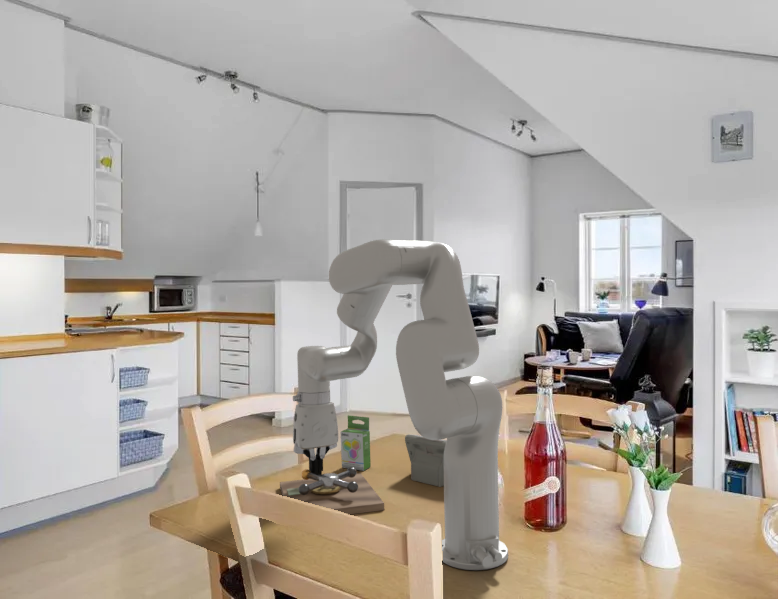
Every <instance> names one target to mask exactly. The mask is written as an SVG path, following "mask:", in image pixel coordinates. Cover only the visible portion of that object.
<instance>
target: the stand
mask: <svg viewBox="0 0 778 599" xmlns="http://www.w3.org/2000/svg"><path fill="white" fill-rule="evenodd" d="M341 481H345V482H349V483H350V482H351V481H354V482H356V483H357V484H358V490H357V491H356V492H354V493H351V492H349V491H348V489H345V488H342V487H341V489H340V490H339V491H338V492H335V493H332V494H315V493H312V492H311V491H309V493H308V494H307V495H301V494H300V493H299V486H300V485H301V484H307V485H308V484H311V483H313V482H316V480H313V479H308V480H304V479H303V478H302V479H296V480H295V479H294V480H286V481H280V482H279V490H280V492H281V496H282V495H283V496H287V497H290V498H294V499H298V500H301V501H304V502H308V503H312V504H315V505H319V506H323V507H326V508H331V509H334V510H338V511H341V512H344V513H348V515H355V514H363V513H364V514H365V513H372V512H378V511H379V512H380V511H385V502H384V501H383V500H382V498H381V497H380V496H379V495H378V493H377V492H376V491H375V489H374V488H373V486H372V485H371V484H370V483H369V482H368V481H367V479H366V478H365V477H364V475H363V474H362V473H356V476H355V477H353V478H350V477H346V478H344V479H341ZM283 496H282V497H283Z"/></svg>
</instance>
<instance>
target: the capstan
mask: <svg viewBox="0 0 778 599" xmlns="http://www.w3.org/2000/svg"><path fill="white" fill-rule="evenodd" d="M356 474H358V473H357V470H356V469H355V468H353V467H350V468H346V470H345V471H342V472H340V473H338V474H337V473H334V472H331V473H330V472H329V473H328V472H327V473H322V475H318V474H315V473H311V471H310V470H309V468H308V469H307V468H305V469H303V470H302V471H301V474H300V476H301V478H302V480H303V479H304V480H308V479H313V480H316V482H313V483H311V484H308V485H307V484H301V485H300V486H299V493H300V494H301V495H307V494H308V493H309V491H311V492H312V493H315V494H332V493H335V492H338V491H339V490H340V489H341V487H342V488H345V489H348V491H349V492H351V493H354V492H356V491H357V490H358V484H357V483H356V482H354V481H351V482H350V483H349V482H345V481H341V479H344V478H346V477H350V478H353V477H355V476H356Z"/></svg>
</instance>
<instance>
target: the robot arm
mask: <svg viewBox="0 0 778 599" xmlns="http://www.w3.org/2000/svg"><path fill="white" fill-rule="evenodd" d="M328 280H329V281H328V282H329V285H330V287H331V288H332V289H333V291H335V292H336V293H339V294H341V295H342V296H341V299H340V301H339V303H338V305H337V308H336V314H337V317H338V318H339V320H340V321H341V323H343V324H344V325H346V327H348V328H350V329H352V330H354V331H356V335H355V337H354V339H353V341H352V343H351V344H350V345H340V346H332V347H326V346H323V345H307V346H302V347H299V349H298V350H297V353H296V354H297V357H296V359H297V360H296V361H297V388H298V391H297V394H296V395H293V396H292V401H293V402H296V403H298V404H296V405H295V408H294V410H295V411H294V414H293V424H292V425H293V427H292V439H293V440H292V442H293V445H294V446H293V449H292V450H293V452H294V453H295V454H299V455H304V456H306V457H307V458H308V470H310V471H311V473H315V474H318V475H322V474H323V473H322V472H323V471H324V459H325V457H326V455H327V453H328V452H329V451H330V450H332V449H335V448H337V447H338V443H339V425H338V418H337V412H336V411H337V410H336V407H335V403H334V402H332V401H331V383H330V382H332V381H338V380H345V379H352V378H357V377H360V376H361V375H363V374H364V373H365V371H367V369H368V368H369V366H370V364H371V362H372V360H373V358H374V356H375V354H376V351H377V348H378V334H377V329H376V326H375V324H374V323H375V321H376V318H377V316H378V314H379V313H380V311H381V310H382V309H381V308H382V307H383V305H384V302H385V300H387V299H386V298H387V297H388V294H389V293H390V291H391V289H392V286H403V285H404V286H405V285H407V286H408V285H422V287H421V291H420V296H419V300H420V302H419V304H420V309H421V312H422V316H423V319H418V320H414V321H412V322H411V321H410V322H409V323H407V324H406V325H404V327H402V329H401V330H400V331H399V333H398V336H397V340H396V346H395V356H396V357H395V358H396V364H397V368H398V372H399V376H400V381H401V384H402V389H403V393H404V397H405V398H404V399H405V401H406V406H407V410H408V414H409V418H410V420H411V422H412V424H413V427H414V429H415V430H416V431H417V433H418V435H419V436H423V437H424V438H426V439H429V440H447V441H446V445H445V449H444V486H443V504H444V505H443V506H444V507H443V508H444V511H443V512H444V538H443V539H442V540H441V541H442V551H443V562H442V563H444V564H445V565H447V566H449V567H452V568H456V569H460V570H466V571H482V570H483V571H485V570H490V569H494V568H497V567H500V566H501V565H503V564H505V563H506V562H507V561H508V559H509V548H508V547H507V545H506V544H505V542H503V541H501V540H500V526H499V525H500V524H499V519H500V518H499V514H500V513H499V512H500V511H499V470H498V469H499V460H498V457H499V454H498V453H499V451H498V450H499V448H498V447H499V434H500V430H501V422H502V417H503V398H502V395H501V394H502V393H501V392H500V390H499V389H498V387H497V385H496V384H495V383H494V382H492V381H491V380H490V379H488V378H486V377H483V376H478V375H468V376H461V377H454V378H450V379H446V375H445V373H448V372H455V371H460V370H464V369H468V368H469V367H471V366H473V365H474V364H475V363H476V362H477V361H478V359H479V355H480V345H479V340H478V335H477V332H476V328H475V325H474V321H473V320H474V319H473V317H472V314H471V309H470V306H469V305H470V304H469V302H468V298H467V295H466V292H465V291H466V290H465V286H464V279H463V272H462V266H461V261H460V259H459V256H458V255H457V253H456V252H455V250H454V249H453V248H452V247H451V246H449V245H447V244H446V243H443V242H438V241H432V240H431V241H430V240H417V239H416V240H413V239H411V240H410V239H409V240H408V239H405V240H404V239H385V238H384V239H383V238H382V239H373V240H370V241H367V242H365V243H362V244H360V245H357V246H355V247H351V248H349V249H346V250H343V251H342V252H340V253H339V254H337V255H336V256H335V258H334V259H333V260H332V262H331V264H330V267H329V270H328ZM315 449H316V450H315Z"/></svg>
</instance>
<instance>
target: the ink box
mask: <svg viewBox="0 0 778 599" xmlns="http://www.w3.org/2000/svg"><path fill="white" fill-rule="evenodd" d="M353 421H362V422H363V423H355V422H353ZM370 432H371V431H370V417H368V416H367V417H366V416H357V415H349V414H348V415H347V428H346V429H343V430H340V454H341V468H342V469H348V468H350V467H353V468H355V469H356V471H361V472H362V471H363V472H364V471H367V470H368V469H370V468H371V462H372V461H371V438H370V437H371V435H370V434H371V433H370Z"/></svg>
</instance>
